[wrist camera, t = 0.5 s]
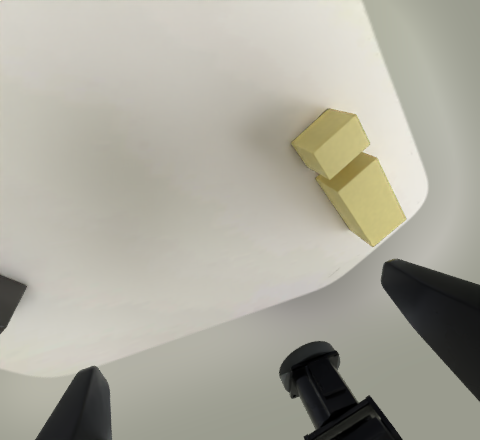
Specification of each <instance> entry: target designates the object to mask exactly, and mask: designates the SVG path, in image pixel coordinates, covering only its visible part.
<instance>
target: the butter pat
mask: <svg viewBox="0 0 480 440" xmlns="http://www.w3.org/2000/svg"><path fill="white" fill-rule="evenodd" d="M291 144H292V145H293V147H294V148H295V150H296V151H297V153H298V154H299V156H300V157H301V159H302V160H303V161H304V163H305V164H306V166H307V167H308V168H310V169H312V170H313V171H315V172H317V173H318V174H320V175H322V176H324V177H325V178H327V179H329V180H330V179H332V178H333V177H334V176H335V175H336V174H337V173H338V172H340V171H341V170H342V169H343V168H344V167H345V166H346V165H347V164H349V163H350V162H351V161H352V160H353V159H354V158H355V157H357V156H358V155H359V154H360V153H361V152H362V151H363V150H364V149H366V148H367V147H368V146H369V145H370V142H369V140H368V138H367V136H366V134H365V132H364V130H363V128H362V125H361V123H360V121H359V119H358V117H357V115H356V114H352V113H347V112H343V111H338V110H333V109H328V110H326V111H325V112H324V113H323V114H322V115H321V116H320V117H319V118H318V119H317V120H316V121H314V122H313V123H312V124H311V125H310V126H309V127H308V128H307V129H306V130H305V131H303V132H302V133H301V134H300V135H299V136H298V137H297V138H296V139H295V140H294V141H292V143H291Z"/></svg>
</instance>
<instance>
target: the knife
mask: <svg viewBox="0 0 480 440" xmlns="http://www.w3.org/2000/svg"><path fill="white" fill-rule="evenodd" d="M26 288H27V286H26V285H23V284H21V283H18V282H16V281H13V280H11V279H8V278H6V277H3V276H1V275H0V334H1V333H2V332H3V331H4V329H5V328H6V327H7V325H8V323H9V321H10V319H11V317H12V315H13V313H14V311H15V309H16V307H17V305H18V303H19V301H20V300H21V298H22V296H23V294H24V292H25V290H26Z"/></svg>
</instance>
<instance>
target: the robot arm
mask: <svg viewBox="0 0 480 440" xmlns="http://www.w3.org/2000/svg"><path fill="white" fill-rule="evenodd" d="M381 284H382V286H383V288H384V290H385V291H386V292H387V294H388V295H389V296H390V298H391V299H392V300H393V302H394V303H395V304H396V306H397V307H398V308H399V309H400V311H401V312H402V314H403V315H404V316H405V318H406V319H407V320H408V321H409V323H410V324H411V325H412V327H413V328H414V329H415V330H416V331H417V333H418V334H419V335H420V336H421V337H422V338H423V339H424V340H425V341H426V343H427V344H428V345H429V346H430V347H431V348H432V349H433V350H434V351H435V352H436V354H437V355H438V356H439V357H440V358H441V359H442V360H443V361H444V363H445V364H446V365H447V366H448V367H449V368H450V369H451V370H452V371H453V372H454V374H455V375H456V376H457V377H458V378H459V379H460V380H461V381H462V383H464V385H465V386H466V387H467V388H468V389H469V390H470V391H471V392H472V394H473V395H474V396H475V397H476V398H477V399H478V400H479V401H480V285H478V284H475V283H472V282H468V281H465V280H462V279H459V278H456V277H453V276H450V275H447V274H444V273H441V272H437V271H434V270H431V269H428V268H425V267H422V266H418V265H415V264H412V263H409V262H406V261H403V260H400V259H392V260H390V261H387V262H385V263H384V265H383V269H382V276H381ZM338 357H339V353H338V352H337V351H336V350H334V351H331V352H329V353H326V354H323V355H320V356H317V357H315V358H312V359H309V360H306V361H303V362H301V363H298V364H295V365H293V366H291V368H290V397H291V398H292V399H293V398H296V397H300V398H301V401H302V403H303V405H304V407H305V409H306V411H307V413H308V415H309V417H310V419H311V421H312V423H313V425H314V427H315V429H316V430H315V431H314V432H312V433H311V434H309V435H308V434H307V435H306V436H304V439H305V440H402V438H401V437H400V435H399V434H398V432H397V431H396V430H395V428H394V427H393V426H392V424H391V423H390V422H389V420H388V419H387V418H386V416H385V415H384V414H383V412H382V411H381V410H380V409H379V407H378V406H377V404H376V403H375V402H374V401H373V399H372V398H371V397H370V396H367V397H366V399H364V400H363V401H361V402H360V403H358V401H357V400H356V398H355V396H354V395H353V394H352V392H351V390H350V389H349V387H348V386H347V385H346V383H345V381H344V380H343V378H342V377H341V375H340V374H339V372H338V371H337V363H338ZM35 440H112V430H111V409H110V389H109V385H108V382H107V380H106V379H105V378H104V376H103V374H102V373H101V372H100V370H99V369H98V367H96V366H91V367H89V368H86V369H83V370H81V371H79V372H78V373H77V374H76V376H75V377H74V379H73V381H72V382H71V384H70V385H69V387H68V389H67V390H66V392H65V393H64V395H63V397H62V398H61V400H60V401H59V403H58V405H57V406H56V408H55V409H54V411H53V413H52V414H51V416H50V417H49V419H48V420H47V422H46V423H45V425H44V427H43V428H42V430H41V432H40V433H39V435H38V436H37V438H36V439H35Z"/></svg>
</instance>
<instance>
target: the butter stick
mask: <svg viewBox="0 0 480 440" xmlns="http://www.w3.org/2000/svg"><path fill="white" fill-rule="evenodd" d="M315 179H316V181H317V182H318V183H319V185H320V186H321V188H322V189H323V191H324V192H325V194H326V195H327V197H328V198H329V200H330V201H331V203H332V204H333V206H334V207H335V208H336V210H337V211H338V213H339V214H340V216H341V217H342V219H343V220H344V222H345V223H346V225H347V226H348V228H349V229H350V230H351V231H352V232H353V233H355V234H356V235H357V236H359V237H360V238H361V239H363V240H364V241H365V242H366V243H368V244H369V245H370V246H372V247H374V246H375V245H376V244H378V243H379V242H380V241H381V240H382V239H384V238H385V237H386V236H387V235H388V234H389V233H391V232H392V231H393V230H394V229H395V228H397V227H398V226H399V225H400V224H401V223H403V222H404V221H405V220H406V217H405V215H404V213H403V211H402V209H401V207H400V205H399V203H398V200H397V198H396V196H395V194H394V192H393V190H392V188H391V186H390V184H389V182H388V180H387V178H386V175H385V173H384V171H383V169H382V167H381V165H380V163H379V161H378V159H377V158H376V157H373V156H371V155H368V154H366V153H363V152H361V153H360V154H359V155H358V156H357V157H355V158H354V159H353V160H352V161H351V162H350V163H349V164H347V165H346V166H345V167H344V168H343V169H342V170H341V171H340V172H338V173H337V174H336V175H335V176H334V177H333V178H332V179H330V180H329V179H327V178H325V177H324V176H322V175H320V174H319V175H318V176H317V177H316V178H315Z"/></svg>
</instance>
